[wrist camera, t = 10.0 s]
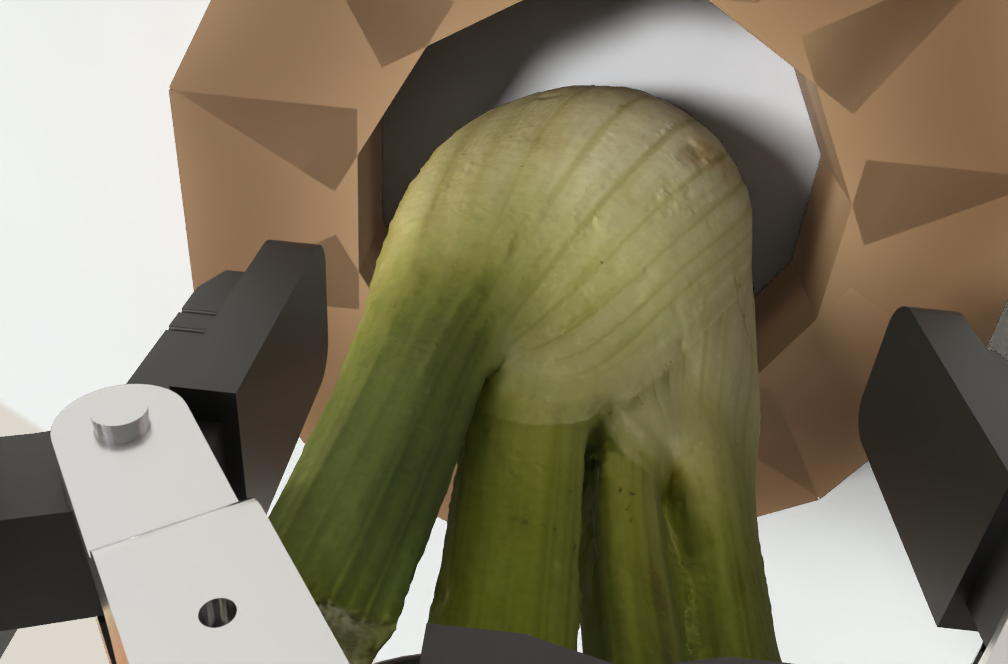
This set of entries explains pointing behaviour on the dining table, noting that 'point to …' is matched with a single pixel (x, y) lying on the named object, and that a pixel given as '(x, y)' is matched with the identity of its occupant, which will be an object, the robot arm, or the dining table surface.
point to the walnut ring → (778, 306)
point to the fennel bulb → (551, 395)
